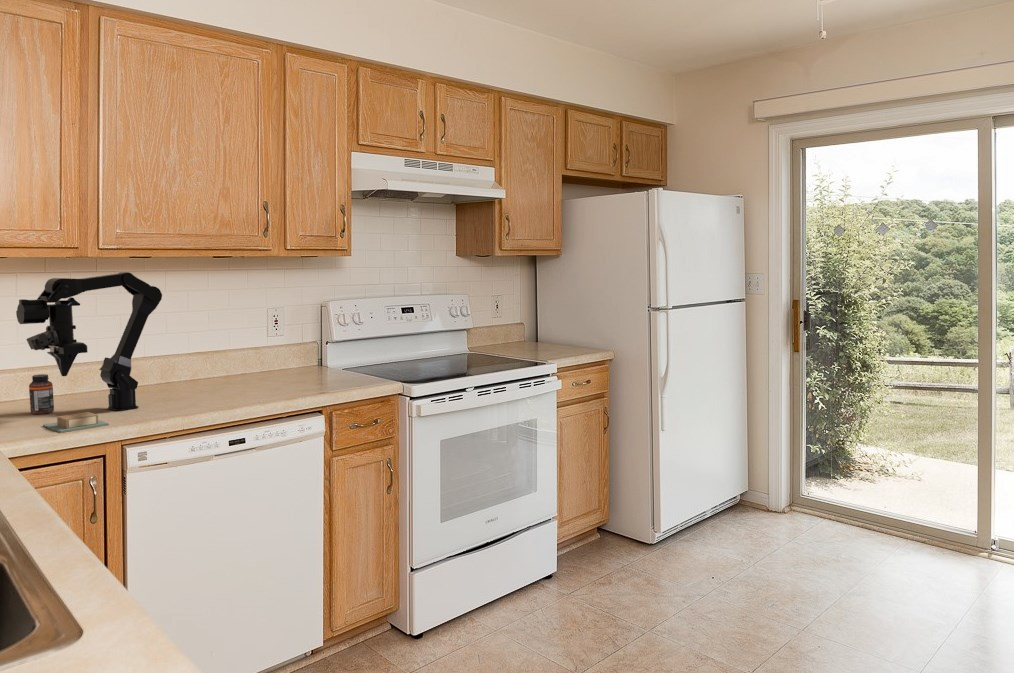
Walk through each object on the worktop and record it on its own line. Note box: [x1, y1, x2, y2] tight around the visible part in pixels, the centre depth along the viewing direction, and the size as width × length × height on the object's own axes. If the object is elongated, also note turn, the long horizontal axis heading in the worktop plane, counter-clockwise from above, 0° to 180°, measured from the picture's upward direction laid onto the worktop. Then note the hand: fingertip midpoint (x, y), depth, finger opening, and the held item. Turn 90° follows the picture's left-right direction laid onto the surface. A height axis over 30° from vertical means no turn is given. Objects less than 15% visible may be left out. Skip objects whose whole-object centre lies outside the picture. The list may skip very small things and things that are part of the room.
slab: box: [56, 411, 99, 429], centre depth 199 cm, size 8×2×6 cm
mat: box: [42, 419, 109, 434], centre depth 201 cm, size 12×12×1 cm
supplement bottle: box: [28, 373, 55, 415], centre depth 217 cm, size 6×6×11 cm
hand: (64, 376), depth 210 cm, fingers closed
